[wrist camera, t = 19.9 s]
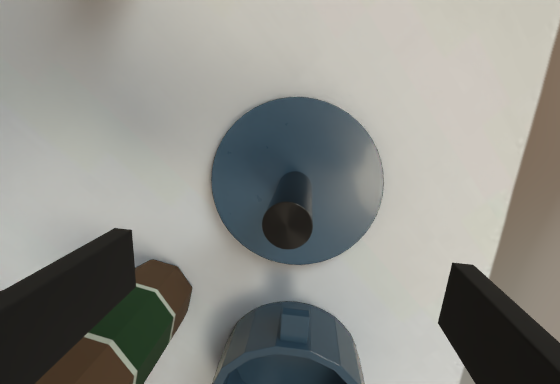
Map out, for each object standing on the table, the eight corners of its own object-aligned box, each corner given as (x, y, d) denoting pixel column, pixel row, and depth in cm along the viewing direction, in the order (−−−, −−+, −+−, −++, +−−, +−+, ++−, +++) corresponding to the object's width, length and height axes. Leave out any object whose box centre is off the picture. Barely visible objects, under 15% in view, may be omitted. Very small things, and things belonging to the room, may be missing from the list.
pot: (227, 415, 35) (209, 477, 29) (229, 271, 30) (208, 311, 24) (346, 433, 34) (354, 501, 28) (370, 287, 29) (386, 332, 23)
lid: (215, 251, 29) (165, 322, 19) (214, 93, 25) (151, 76, 15) (367, 267, 28) (401, 352, 18) (393, 103, 24) (455, 92, 14)
